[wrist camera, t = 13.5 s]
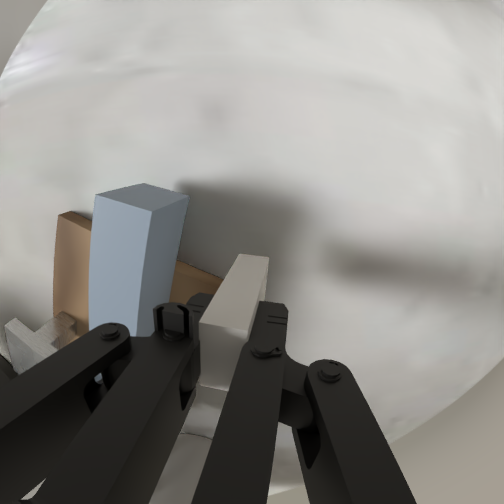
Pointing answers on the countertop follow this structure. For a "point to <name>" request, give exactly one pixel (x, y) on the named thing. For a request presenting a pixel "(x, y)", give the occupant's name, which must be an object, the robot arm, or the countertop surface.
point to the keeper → (38, 340)
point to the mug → (182, 470)
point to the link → (133, 255)
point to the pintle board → (77, 273)
